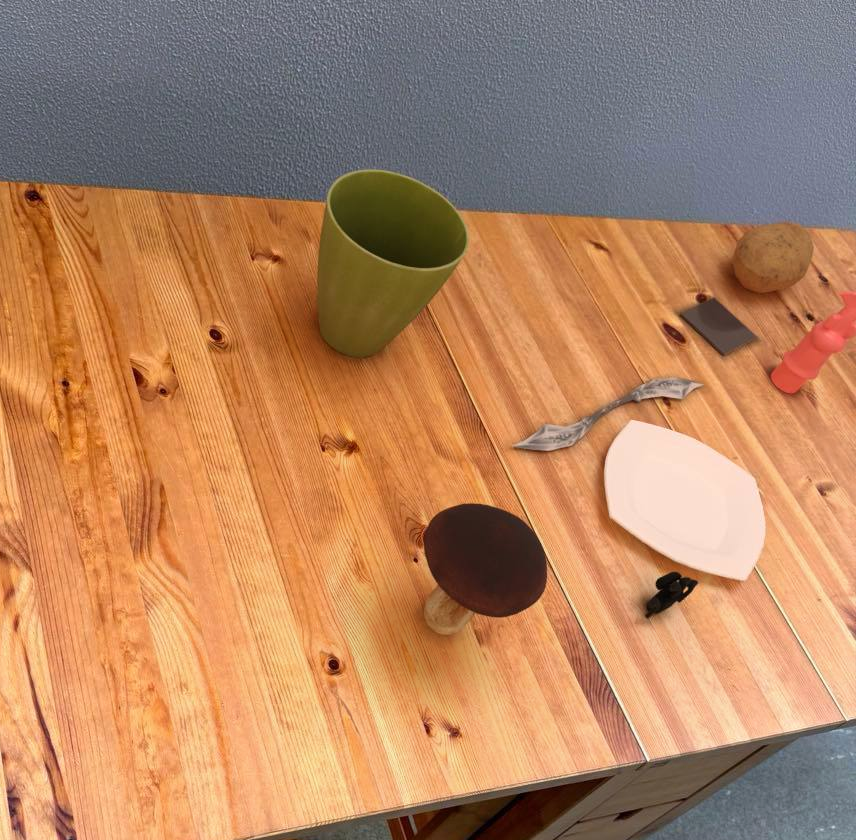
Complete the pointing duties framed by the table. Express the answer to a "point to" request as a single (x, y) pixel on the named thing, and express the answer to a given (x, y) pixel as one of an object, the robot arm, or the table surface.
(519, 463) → the table surface
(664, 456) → the plate
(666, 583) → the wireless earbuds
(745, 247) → the potato
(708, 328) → the coaster
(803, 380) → the figurine
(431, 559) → the decorative mushroom
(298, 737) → the table surface
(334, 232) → the flower pot
